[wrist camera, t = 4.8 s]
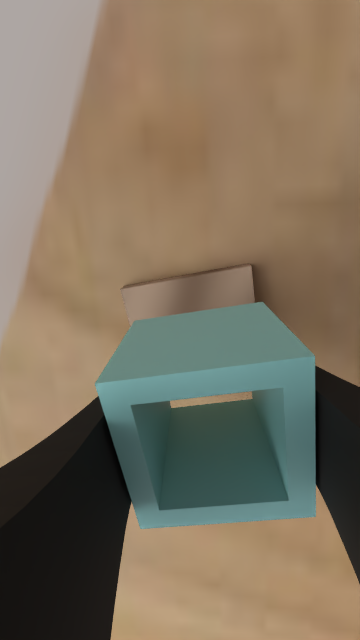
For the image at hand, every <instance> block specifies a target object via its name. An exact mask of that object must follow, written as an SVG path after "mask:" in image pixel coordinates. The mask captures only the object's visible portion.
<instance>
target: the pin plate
mask: <svg viewBox="0 0 360 640" xmlns="http://www.w3.org/2000/svg"><path fill="white" fill-rule="evenodd" d="M120 290H121V294H122V298H123V301H124V305H125V309H126V313H127V316H128V320H129V324H130V327H131V326H132V324H133V322H134V321H136V320H142V319H149V318H156V317H162V316H169V315H176V314H183V313H189V312H196V311H203V310H210V309H216V308H223V307H230V306H237V305H243V304H250V303H255V298H254V288H253V277H252V267H251V265H249V264H243V265H238V266H232V267H227V268H221V269H216V270H210V271H205V272H199V273H194V274H188V275H182V276H177V277H171V278H166V279H160V280H155V281H149V282H144V283H138V284H133V285H127V286H124V287H122V288H121V289H120Z"/></svg>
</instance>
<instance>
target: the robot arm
mask: <svg viewBox="0 0 360 640" xmlns="http://www.w3.org/2000/svg"><path fill="white" fill-rule="evenodd" d="M315 459H316V485H317V487H318V489H319V491H320V493H321V495H322V497H323V499H324V501H325V503H326V505H327V507H328V509H329V511H330V513H331V516H332V518H333V520H334V523H335V525H336V528H337V530H338V532H339V535H340V537H341V539H342V542H343V544H344V546H345V549H346V551H347V554H348V556H349V558H350V561H351V563H352V566H353V568H354V571H355V573H356V576H357V578H358V581H359V583H360V387H358V386H356V385H354V384H351V383H349V382H347V381H345V380H343V379H341V378H339V377H337V376H335V375H333V374H331V373H329V372H327V371H325V370H323V369H321V368H319V367H317V366H315ZM131 501H132V500H131V497H130V494H129V491H128V488H127V484H126V481H125V478H124V475H123V472H122V469H121V465H120V462H119V459H118V456H117V453H116V450H115V446H114V443H113V440H112V437H111V434H110V430H109V427H108V424H107V421H106V418H105V415H104V411H103V408H102V405H101V402H100V399H99V396H98V397H97V398H95V399H94V400H93V401H92V402H91V403H90V404H89V405H87V406H86V407H85V408H84V409H83V410H82V411H80V412H79V413H78V414H77V415H75V416H74V417H73V418H72V419H70V420H69V421H68V422H67V423H65V424H64V425H63V426H62V427H60V428H59V429H58V430H56V431H55V432H54V433H52V434H51V435H50V436H48V437H47V438H46V439H44V440H43V441H41V442H40V443H38V444H37V445H35V446H34V447H33V448H31V449H30V450H28V451H27V452H25V453H24V454H22V455H21V456H19V457H17V458H16V459H14V460H12V461H11V462H9V463H7V464H6V465H4V466H2V467H1V468H0V640H110V638H111V630H112V622H113V613H114V605H115V598H116V591H117V583H118V576H119V569H120V562H121V555H122V549H123V542H124V536H125V529H126V524H127V519H128V514H129V509H130V505H131Z"/></svg>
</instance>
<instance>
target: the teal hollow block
mask: <svg viewBox="0 0 360 640" xmlns="http://www.w3.org/2000/svg"><path fill="white" fill-rule="evenodd" d="M95 386H96V389H97V392H98V396H99V399H100V402H101V405H102V408H103V411H104V415H105V418H106V421H107V424H108V427H109V430H110V434H111V437H112V440H113V443H114V446H115V450H116V453H117V456H118V459H119V462H120V465H121V469H122V472H123V475H124V478H125V481H126V484H127V488H128V491H129V494H130V497H131V500H132V504H133V507H134V510H135V513H136V516H137V519H138V523H139V526H140V529H147V528H162V527H176V526H190V525H205V524H219V523H233V522H248V521H262V520H276V519H291V518H305V517H316V459H315V355H314V354H313V353H312V352H311V351H310V350H309V349H308V348H307V347H306V346H305V345H304V344H303V343H302V342H301V341H300V340H299V339H298V338H297V337H296V336H295V335H294V334H293V333H292V332H291V331H290V330H289V329H288V328H287V327H286V326H285V324H284V323H283V322H282V321H281V320H280V319H279V318H278V317H277V316H276V315H275V314H274V313H273V312H272V311H271V310H270V309H269V308H268V307H267V306H266V305H265V304H264V303H263V302H257V303H250V304H243V305H237V306H230V307H223V308H216V309H210V310H203V311H196V312H189V313H183V314H176V315H169V316H162V317H156V318H149V319H142V320H136V321H134V322H133V324H132V326H131V327H130V329H129V330H128V332H127V333H126V335H125V337H124V338H123V340H122V341H121V343H120V345H119V346H118V348H117V349H116V351H115V353H114V354H113V356H112V357H111V359H110V360H109V362H108V364H107V365H106V367H105V368H104V370H103V372H102V373H101V375H100V376H99V378H98V380H97V381H96V383H95ZM248 391H252V397H253V399H248V400H240V401H231V402H222V403H213V404H205V405H196V406H187V407H178V408H171V405H170V401H171V400H179V399H188V398H197V397H205V396H214V395H222V394H231V393H239V392H248Z"/></svg>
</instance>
